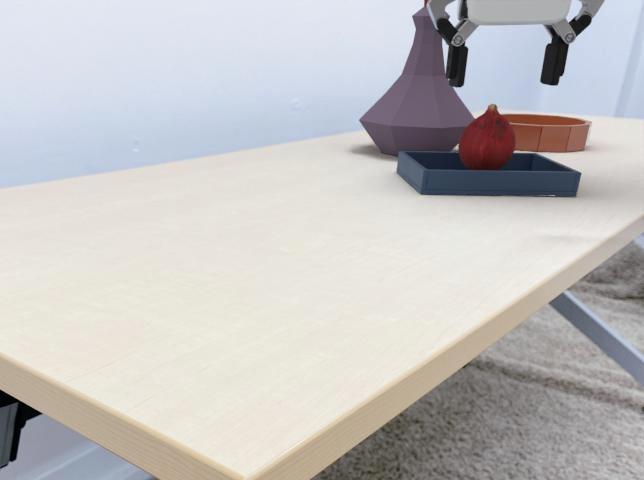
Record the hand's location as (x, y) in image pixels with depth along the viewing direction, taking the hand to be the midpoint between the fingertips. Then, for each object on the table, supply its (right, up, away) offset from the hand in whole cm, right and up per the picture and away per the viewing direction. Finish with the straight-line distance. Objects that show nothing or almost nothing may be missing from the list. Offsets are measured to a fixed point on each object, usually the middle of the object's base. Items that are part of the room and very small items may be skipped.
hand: (502, 85), depth 75 cm
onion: (-1, -9, +4) cm, 10 cm away
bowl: (+18, +2, +31) cm, 36 cm away
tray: (-1, -10, +4) cm, 10 cm away
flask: (-2, -1, +24) cm, 24 cm away
